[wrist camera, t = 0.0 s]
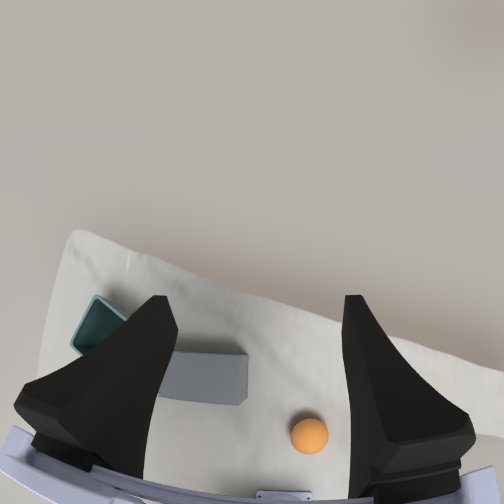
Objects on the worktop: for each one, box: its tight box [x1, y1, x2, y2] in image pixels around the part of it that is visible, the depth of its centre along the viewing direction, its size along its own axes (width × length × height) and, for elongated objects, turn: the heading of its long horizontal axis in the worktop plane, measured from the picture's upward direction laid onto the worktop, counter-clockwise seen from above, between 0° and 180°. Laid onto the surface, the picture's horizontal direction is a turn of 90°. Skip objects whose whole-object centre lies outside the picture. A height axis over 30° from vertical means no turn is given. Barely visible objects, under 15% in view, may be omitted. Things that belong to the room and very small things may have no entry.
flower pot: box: [70, 295, 130, 356], centre depth 42 cm, size 9×9×9 cm
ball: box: [291, 419, 329, 454], centre depth 36 cm, size 5×5×5 cm
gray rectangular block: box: [159, 351, 248, 405], centre depth 40 cm, size 6×10×6 cm, turn 88°
